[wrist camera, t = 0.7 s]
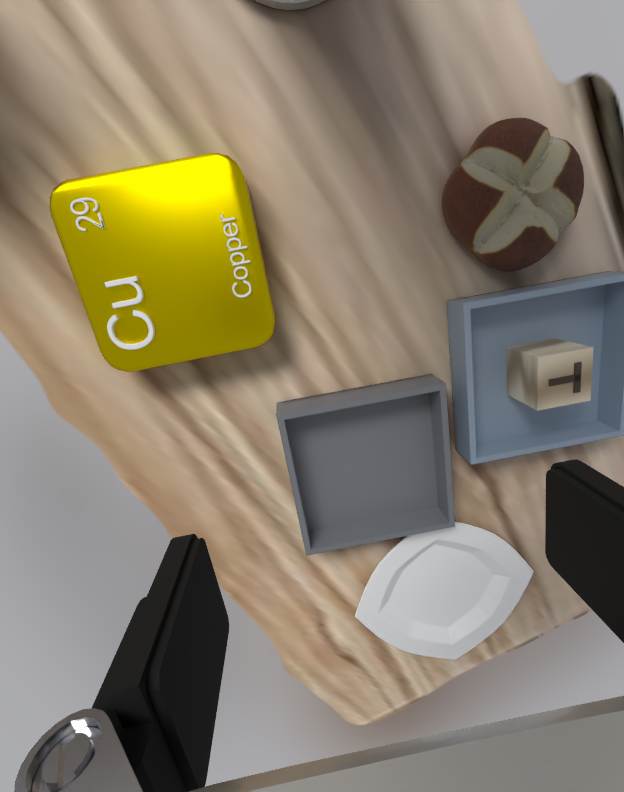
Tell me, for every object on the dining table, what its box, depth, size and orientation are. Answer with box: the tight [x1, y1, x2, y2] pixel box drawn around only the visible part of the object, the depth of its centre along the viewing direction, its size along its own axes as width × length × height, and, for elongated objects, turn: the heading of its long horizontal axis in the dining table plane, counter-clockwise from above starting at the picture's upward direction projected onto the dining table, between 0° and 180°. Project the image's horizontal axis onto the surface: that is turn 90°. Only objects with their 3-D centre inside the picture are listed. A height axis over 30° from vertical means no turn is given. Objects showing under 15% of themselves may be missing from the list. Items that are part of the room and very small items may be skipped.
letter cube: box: [506, 338, 594, 411], centre depth 37 cm, size 5×5×5 cm
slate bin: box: [447, 271, 624, 465], centre depth 38 cm, size 16×16×4 cm
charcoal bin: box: [276, 374, 455, 556], centre depth 40 cm, size 16×16×4 cm
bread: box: [442, 118, 584, 271], centre depth 33 cm, size 11×11×5 cm
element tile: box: [50, 153, 275, 372], centre depth 33 cm, size 15×15×5 cm
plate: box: [355, 522, 534, 660], centre depth 47 cm, size 19×19×2 cm
